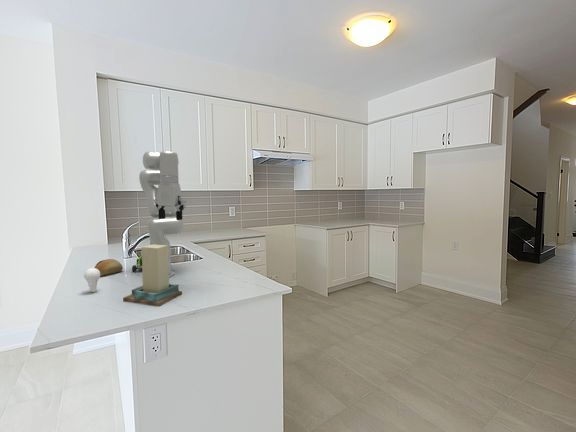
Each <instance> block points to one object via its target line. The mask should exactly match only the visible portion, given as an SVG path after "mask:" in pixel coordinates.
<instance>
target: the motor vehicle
mask: <svg viewBox="0 0 576 432" xmlns="http://www.w3.org/2000/svg"><path fill="white" fill-rule="evenodd" d="M137 270H142V253H141V254H140V256H139V258H136V265H132V267H131V272H132V273H133V272H134V273H137Z"/></svg>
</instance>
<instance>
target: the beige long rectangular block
mask: <svg viewBox="0 0 576 432" xmlns="http://www.w3.org/2000/svg"><path fill="white" fill-rule="evenodd" d="M141 254H142V258H141V259H142V269H141V270H142V286H143V291H144V292H151V293H158V292H160V291H163V290H165V289H167V288H169V284H170V280H169V279H170V277H169V271H168V246H167V245H155V244H152V245H150V244H148V245H145V246H141Z"/></svg>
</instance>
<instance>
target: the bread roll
mask: <svg viewBox="0 0 576 432" xmlns="http://www.w3.org/2000/svg"><path fill="white" fill-rule="evenodd" d="M94 268H96V269H98V270H99V271H100V277H101V276H106V275H110V274H116V273H120V272H122V271H123V268H124V267H123V264H122V263H121V262H120V261H118V260H116V259H114V258H113V259H111V258H110V259H107V258H106V259H103V260H100V261H98V262H97V263H96V264H95V266H94Z"/></svg>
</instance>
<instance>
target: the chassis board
mask: <svg viewBox="0 0 576 432" xmlns="http://www.w3.org/2000/svg"><path fill="white" fill-rule="evenodd" d="M179 289H180V288H179V284H176V283H169V288H167V289H165V290H163V291H160V292H158V293H151V292H144V291H143V285H140V286H139V287H136V288H134V289H131V294H129V295H126V296H124V297H122V299H123V300H122V301H123V302H125V303H126V302H127V303H133V304H139V305H146V306H147V305H148V306H154V307H161V306H163V305H164V304H166V303H168V302H170V301H171V300H174V299H176V298H178V297H180V296H182V295H183V293H182V292H183V291H182V290H179Z"/></svg>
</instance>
